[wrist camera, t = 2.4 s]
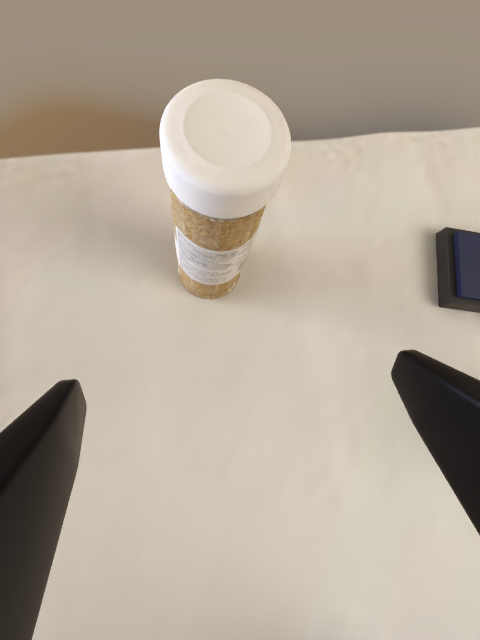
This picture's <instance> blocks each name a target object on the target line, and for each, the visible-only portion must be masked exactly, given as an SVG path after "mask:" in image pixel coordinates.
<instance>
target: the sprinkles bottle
mask: <svg viewBox="0 0 480 640" xmlns="http://www.w3.org/2000/svg"><path fill="white" fill-rule="evenodd" d="M160 145H161V154H162V162H163V169H164V173H165V177H166V180H167V182H168V184H169V186H170V191H171V197H172V211H173V218H174V237H175V245H176V253H177V259H178V262H179V263H178V273H179V277H180V280H181V282H182V284H183V285H184V287H185V288H186V289H187V290H188V291H189V292H190V293H192V294H194V295H195V296H198V297H200V298H204V299H215V298H219V297H222V296H224V295H226V294H227V293H229V292H230V291H231V290H232V289H233V288H234V286H235V285H236V283H237V281H238V278H239V272H240V270H241V269H242V267H243V265H244V262H245V260H246V257H247V255H248V252H249V250H250V247H251V245H252V242H253V240H254V237H255V235H256V233H257V230H258V228H259V225H260V221H261V217H262V215H263V212H264V209H265V207H266V205H267V203H268V202H269V201H270V200H271V199H272V198H273V196H274V195H275V193H276V191H277V189H278V187H279V184H280V182H281V180H282V177H283V174H284V172H285V169H286V166H287V163H288V160H289V156H290V150H291V137H290V132H289V128H288V125H287V122H286V120H285V118H284V116H283V114H282V113H281V111H280V110H279V108H278V107H277V106H276V105H275V104H274V103H273V101H272V100H271V99H269V98H268V97H267V96H266V95H265V94H263V93H262V92H260V91H259V90H257V89H255V88H253V87H251V86H249V85H247V84H244V83H241V82H238V81H233V80H226V79H211V80H205V81H200V82H197V83H194V84H192V85H190V86H188V87H186V88H184V89H183V90H181V91H180V92H178V94H176V95H175V96H174V97H173V98H172V100H171V101H170V102H169V104H168V105H167V107H166V109H165V111H164V113H163V116H162V119H161V124H160Z"/></svg>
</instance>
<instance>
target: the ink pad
mask: <svg viewBox="0 0 480 640" xmlns="http://www.w3.org/2000/svg"><path fill="white" fill-rule="evenodd" d="M436 246H437V268H438V290H439V307H444V308H451V309H458V310H465V311H472V312H479V313H480V233H477V232H471V231H465V230H459V229H454V228H448V227H446V228H444V229H443V230H441V231H440V232H438V233H436Z"/></svg>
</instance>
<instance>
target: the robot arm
mask: <svg viewBox="0 0 480 640" xmlns="http://www.w3.org/2000/svg"><path fill="white" fill-rule="evenodd" d="M391 376H392V380H393V382H394V384H395V386H396V388H397V391H398V393H399V395H400V397H401V399H402V401H403V403H404V405H405V408H406V410H407V412H408V414H409V416H410V418H411V420H412V422H413V424H414V426H415V428H416V429H417V431H418V433H419V434H420V436H421V438H422V440H423V441H424V443H425V445H426V446H427V448H428V450H429V451H430V453H431V455H432V456H433V458H434V460H435V461H436V463H437V465H438V466H439V468H440V470H441V471H442V473H443V475H444V476H445V478H446V480H447V481H448V483H449V485H450V486H451V488H452V490H453V491H454V493H455V495H456V496H457V498H458V500H459V501H460V503H461V505H462V506H463V508H464V510H465V511H466V513H467V515H468V516H469V518H470V520H471V522H472V523H473V525H474V527H475V528H476V530H477V532H478V533H479V535H480V381H479V380H477V379H475V378H473V377H471V376H469V375H467V374H465V373H463V372H460V371H458V370H456V369H454V368H452V367H450V366H448V365H446V364H444V363H441V362H439V361H437V360H435V359H433V358H431V357H429V356H427V355H425V354H423V353H420V352H418V351H416V350H403V351H400V352H399V353H398V355H397V358H396V361H395V363H394V366H393V368H392V371H391ZM85 416H86V401H85V398H84V395H83V392H82V389H81V386H80V383H79V381H78V380H76V379H72V380H62V381H59V382H58V383H56V384H55V385H54V386H53V387H52V388H51V389H50V390H48V391H47V392H46V393H45V394H44V395H43V396H42V397H40V398H39V399H38V400H37V401H36V402H35V403H34V404H33V405H31V406H30V407H29V408H28V409H27V410H26V411H25V412H23V413H22V414H21V415H20V416H19V417H18V418H17V419H15V420H14V421H13V422H12V423H11V424H10V425H9V426H7V427H6V428H5V429H4V430H3V431H2V432H1V433H0V640H32V636H33V633H34V629H35V625H36V621H37V618H38V614H39V610H40V607H41V603H42V599H43V595H44V592H45V588H46V584H47V581H48V577H49V573H50V569H51V566H52V562H53V558H54V554H55V551H56V547H57V543H58V540H59V536H60V532H61V528H62V525H63V521H64V517H65V514H66V510H67V506H68V502H69V499H70V495H71V491H72V488H73V484H74V480H75V476H76V472H77V468H78V463H79V457H80V450H81V443H82V436H83V429H84V422H85Z"/></svg>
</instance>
